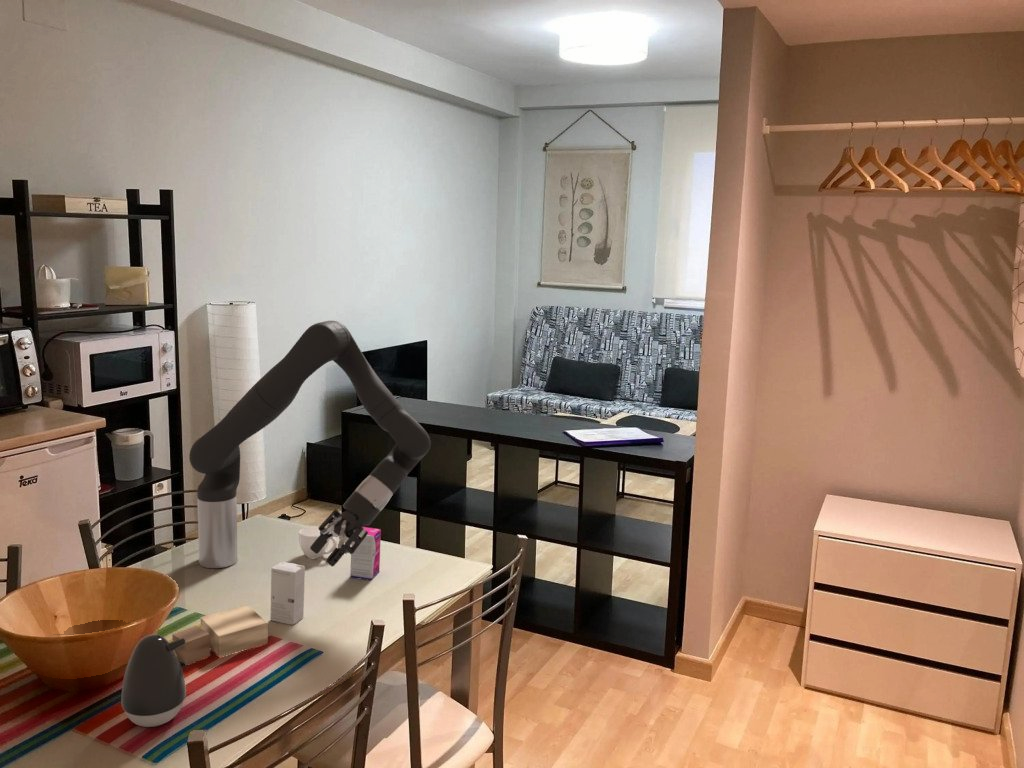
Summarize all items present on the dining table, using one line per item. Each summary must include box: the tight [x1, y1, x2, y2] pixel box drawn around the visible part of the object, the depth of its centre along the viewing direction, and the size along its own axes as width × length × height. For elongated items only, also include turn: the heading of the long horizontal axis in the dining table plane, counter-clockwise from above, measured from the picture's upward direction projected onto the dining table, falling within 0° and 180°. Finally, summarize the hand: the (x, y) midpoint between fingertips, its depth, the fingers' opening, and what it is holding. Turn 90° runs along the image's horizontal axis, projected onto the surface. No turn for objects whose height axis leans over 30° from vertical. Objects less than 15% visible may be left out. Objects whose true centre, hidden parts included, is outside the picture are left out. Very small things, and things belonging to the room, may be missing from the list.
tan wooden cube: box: [171, 625, 211, 665], centre depth 164 cm, size 5×5×5 cm
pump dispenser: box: [120, 633, 187, 728], centre depth 142 cm, size 10×10×15 cm
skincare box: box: [269, 561, 306, 626], centre depth 181 cm, size 6×4×12 cm
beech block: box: [199, 604, 269, 657], centre depth 171 cm, size 10×10×5 cm
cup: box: [298, 525, 338, 559], centre depth 217 cm, size 8×10×7 cm
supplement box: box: [349, 526, 382, 581], centre depth 206 cm, size 6×6×12 cm
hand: (320, 557), depth 184 cm, fingers open, 8 cm apart
